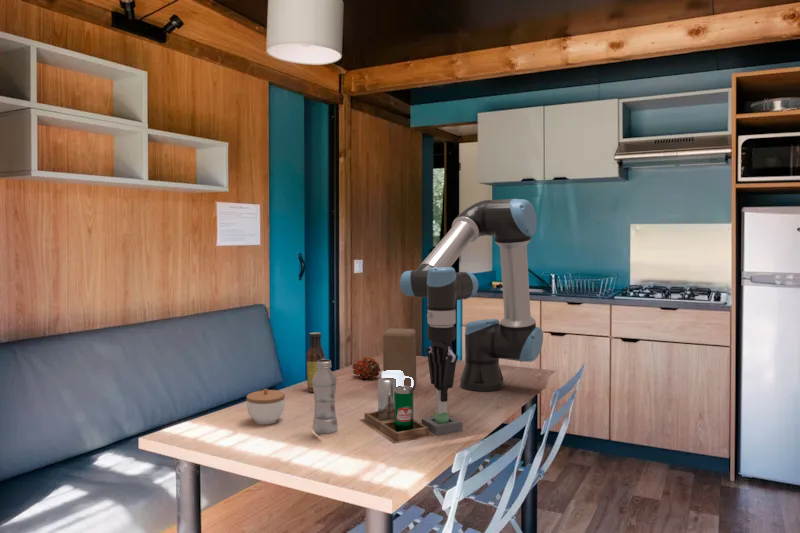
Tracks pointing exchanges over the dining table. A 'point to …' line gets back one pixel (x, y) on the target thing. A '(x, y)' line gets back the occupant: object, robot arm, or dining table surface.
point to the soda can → (403, 408)
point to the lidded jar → (265, 406)
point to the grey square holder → (443, 426)
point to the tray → (389, 433)
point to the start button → (441, 418)
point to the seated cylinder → (386, 398)
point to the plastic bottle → (324, 399)
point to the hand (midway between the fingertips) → (441, 412)
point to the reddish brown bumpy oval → (366, 368)
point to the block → (400, 352)
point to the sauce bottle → (313, 357)
